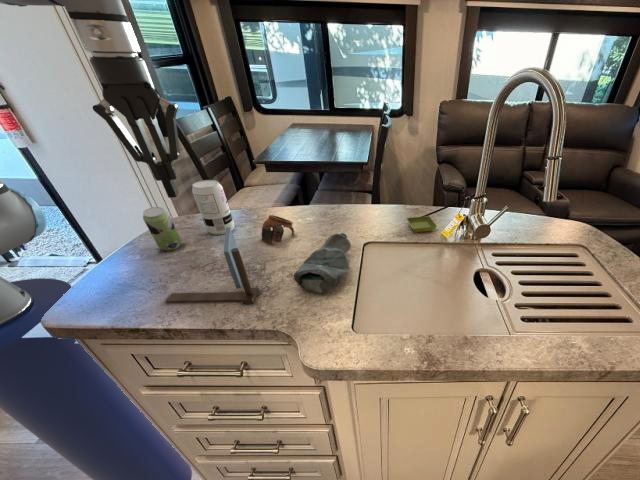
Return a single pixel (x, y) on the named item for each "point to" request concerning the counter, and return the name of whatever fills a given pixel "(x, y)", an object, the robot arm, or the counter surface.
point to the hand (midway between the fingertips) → (173, 195)
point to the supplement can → (213, 206)
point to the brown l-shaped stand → (245, 297)
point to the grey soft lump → (325, 265)
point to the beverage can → (162, 228)
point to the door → (228, 247)
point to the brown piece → (275, 229)
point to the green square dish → (421, 223)
